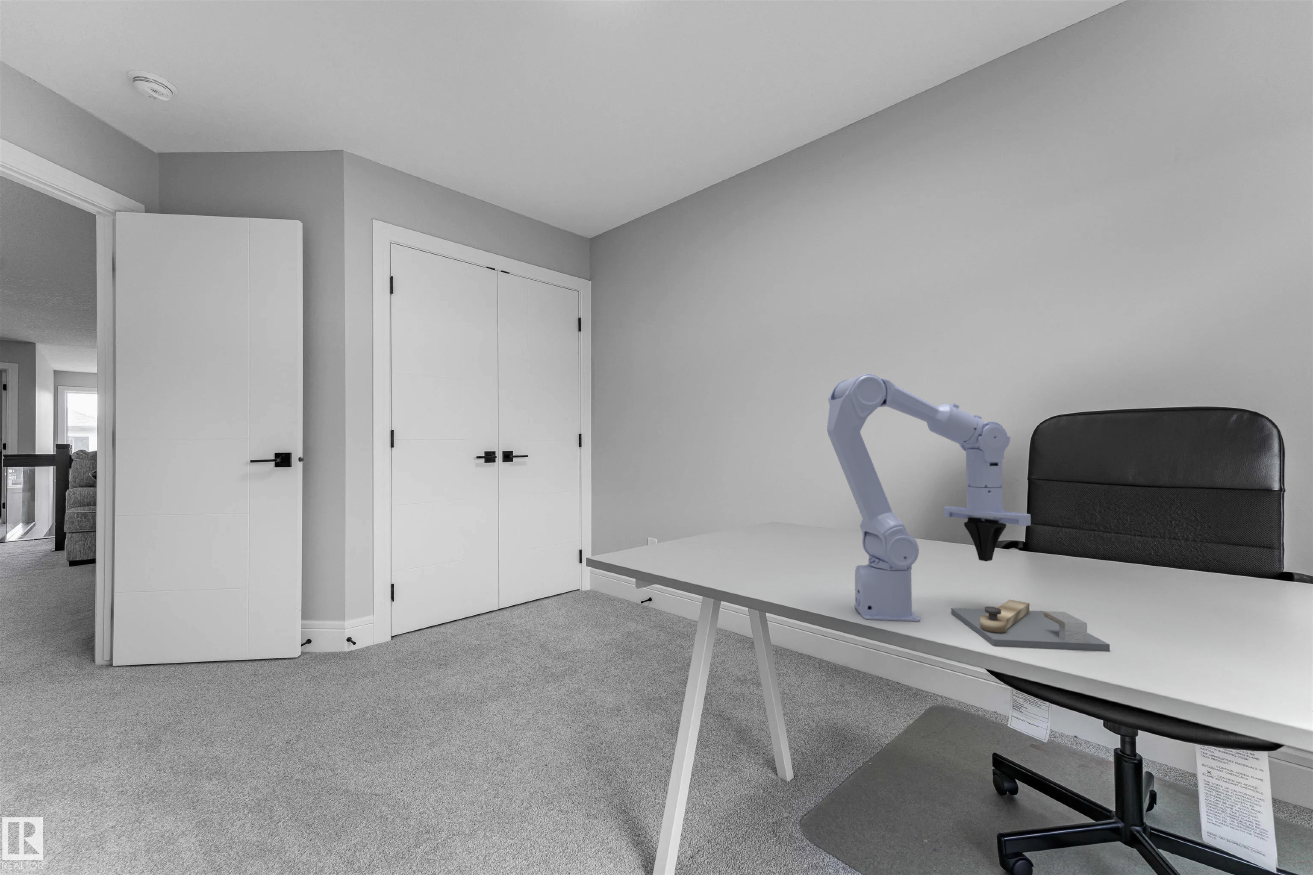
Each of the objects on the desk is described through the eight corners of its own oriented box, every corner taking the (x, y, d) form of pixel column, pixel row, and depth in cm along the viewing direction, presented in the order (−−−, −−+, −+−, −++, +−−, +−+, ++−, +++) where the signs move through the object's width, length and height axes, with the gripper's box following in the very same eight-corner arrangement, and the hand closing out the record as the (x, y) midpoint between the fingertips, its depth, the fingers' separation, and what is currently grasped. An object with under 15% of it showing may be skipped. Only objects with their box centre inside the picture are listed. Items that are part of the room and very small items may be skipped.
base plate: (993, 645, 81) (993, 639, 81) (951, 613, 97) (951, 607, 97) (1109, 650, 79) (1109, 644, 79) (1046, 616, 95) (1046, 611, 95)
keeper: (1065, 642, 80) (1064, 622, 80) (1044, 629, 85) (1043, 611, 85) (1087, 643, 79) (1086, 623, 79) (1064, 630, 85) (1064, 611, 85)
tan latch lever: (1002, 634, 83) (1002, 613, 83) (976, 628, 85) (976, 608, 86) (1031, 611, 94) (1031, 593, 94) (1007, 607, 96) (1007, 589, 96)
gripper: (1039, 488, 94) (1040, 565, 94) (958, 483, 107) (959, 551, 107) (1018, 490, 91) (1019, 569, 90) (937, 485, 103) (938, 555, 103)
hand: (985, 560), depth 98 cm, fingers closed
